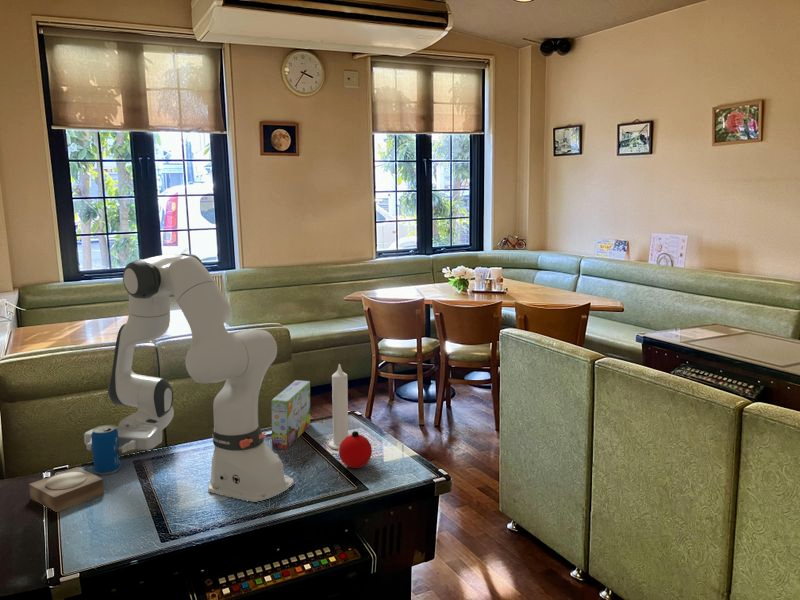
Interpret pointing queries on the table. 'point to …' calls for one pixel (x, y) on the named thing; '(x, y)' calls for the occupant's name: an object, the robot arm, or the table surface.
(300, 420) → the snack box
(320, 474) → the table surface
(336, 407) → the candle
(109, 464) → the beverage can
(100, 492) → the base block
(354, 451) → the ornament
